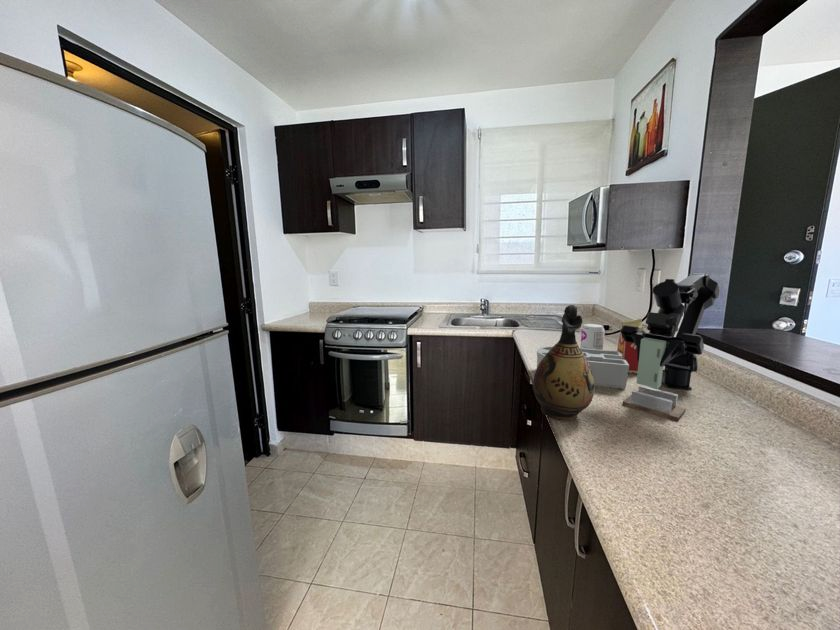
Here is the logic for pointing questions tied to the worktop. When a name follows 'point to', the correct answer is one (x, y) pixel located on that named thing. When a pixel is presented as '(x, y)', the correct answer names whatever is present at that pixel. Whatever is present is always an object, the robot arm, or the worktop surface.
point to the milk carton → (629, 347)
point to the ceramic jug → (564, 374)
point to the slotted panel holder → (655, 402)
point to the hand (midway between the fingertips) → (649, 363)
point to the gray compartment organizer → (601, 366)
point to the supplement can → (592, 336)
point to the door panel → (650, 362)
